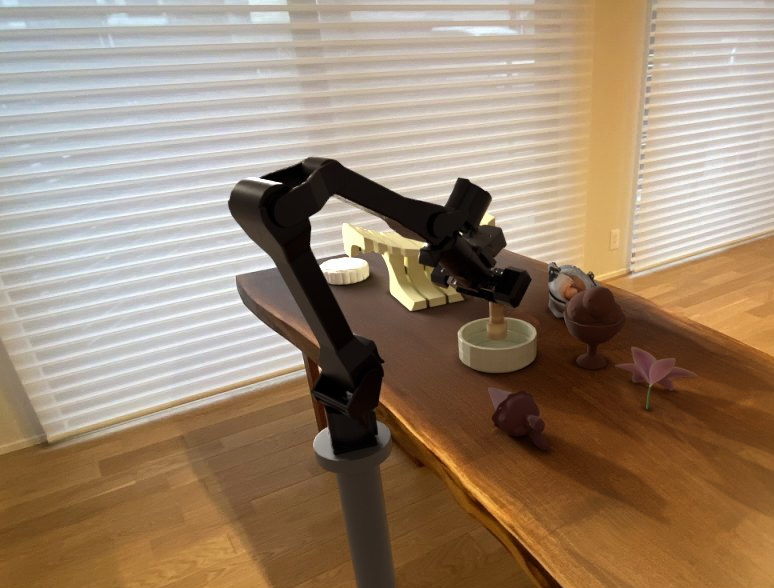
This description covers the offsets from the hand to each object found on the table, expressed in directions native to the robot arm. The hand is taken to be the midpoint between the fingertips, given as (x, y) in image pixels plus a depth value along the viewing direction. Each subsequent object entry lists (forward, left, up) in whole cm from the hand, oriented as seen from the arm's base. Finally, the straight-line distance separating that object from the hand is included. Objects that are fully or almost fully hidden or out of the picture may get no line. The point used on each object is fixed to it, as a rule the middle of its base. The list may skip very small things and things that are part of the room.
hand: (501, 300), depth 111 cm
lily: (+17, -25, -11) cm, 32 cm away
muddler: (-1, -1, -7) cm, 7 cm away
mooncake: (-20, +56, -11) cm, 61 cm away
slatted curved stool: (-5, +36, -11) cm, 38 cm away
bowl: (-1, -1, -11) cm, 11 cm away
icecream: (-8, -25, -11) cm, 28 cm away
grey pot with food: (+22, +11, -11) cm, 27 cm away
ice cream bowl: (+14, -10, -11) cm, 20 cm away
